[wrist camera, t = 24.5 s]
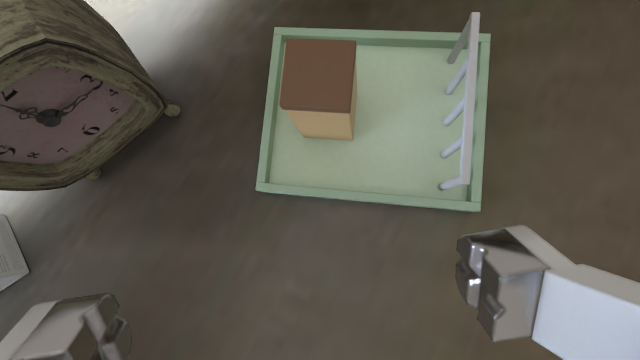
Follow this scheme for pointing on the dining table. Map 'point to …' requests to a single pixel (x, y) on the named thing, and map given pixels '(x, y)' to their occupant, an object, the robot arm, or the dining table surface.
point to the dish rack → (389, 122)
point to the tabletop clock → (67, 94)
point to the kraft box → (320, 87)
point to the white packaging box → (10, 256)
